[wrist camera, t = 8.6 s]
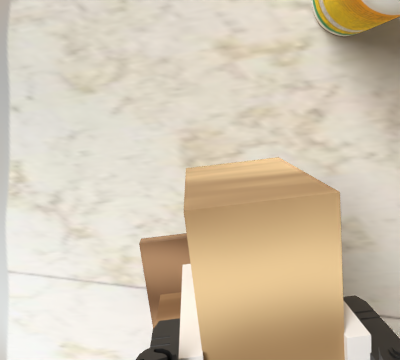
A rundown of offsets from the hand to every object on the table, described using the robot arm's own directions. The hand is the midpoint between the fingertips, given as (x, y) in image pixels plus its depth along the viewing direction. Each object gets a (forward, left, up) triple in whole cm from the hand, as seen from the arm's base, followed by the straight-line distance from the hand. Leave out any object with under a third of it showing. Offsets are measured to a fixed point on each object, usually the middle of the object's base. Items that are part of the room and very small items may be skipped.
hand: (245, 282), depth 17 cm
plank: (+7, 0, -1) cm, 7 cm away
